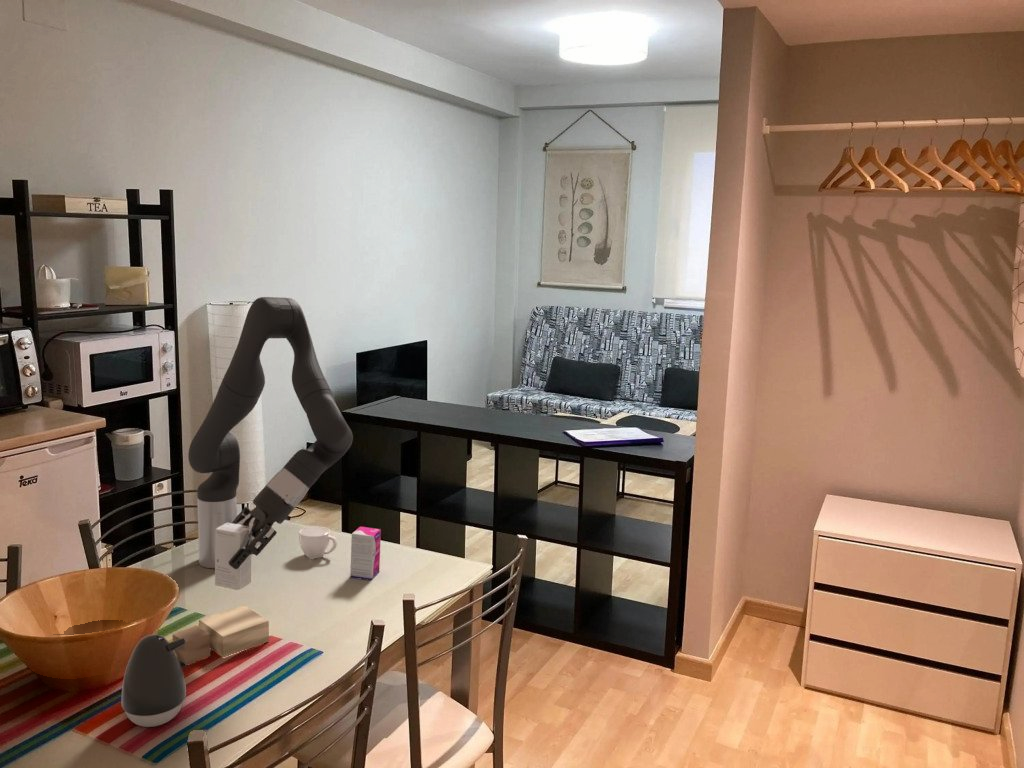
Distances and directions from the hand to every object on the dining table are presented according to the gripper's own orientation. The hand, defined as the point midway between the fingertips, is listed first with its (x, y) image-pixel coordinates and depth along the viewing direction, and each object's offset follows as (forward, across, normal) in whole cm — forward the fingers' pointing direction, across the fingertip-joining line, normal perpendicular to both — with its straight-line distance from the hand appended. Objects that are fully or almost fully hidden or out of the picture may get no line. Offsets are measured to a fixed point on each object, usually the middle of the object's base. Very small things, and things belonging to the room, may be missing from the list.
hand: (225, 560), depth 167 cm
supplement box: (-15, -17, +41) cm, 47 cm away
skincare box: (+3, 0, +5) cm, 6 cm away
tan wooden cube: (+18, +2, +7) cm, 20 cm away
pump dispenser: (+26, +20, 0) cm, 33 cm away
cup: (-11, -34, +37) cm, 52 cm away
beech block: (+12, 0, +14) cm, 18 cm away
